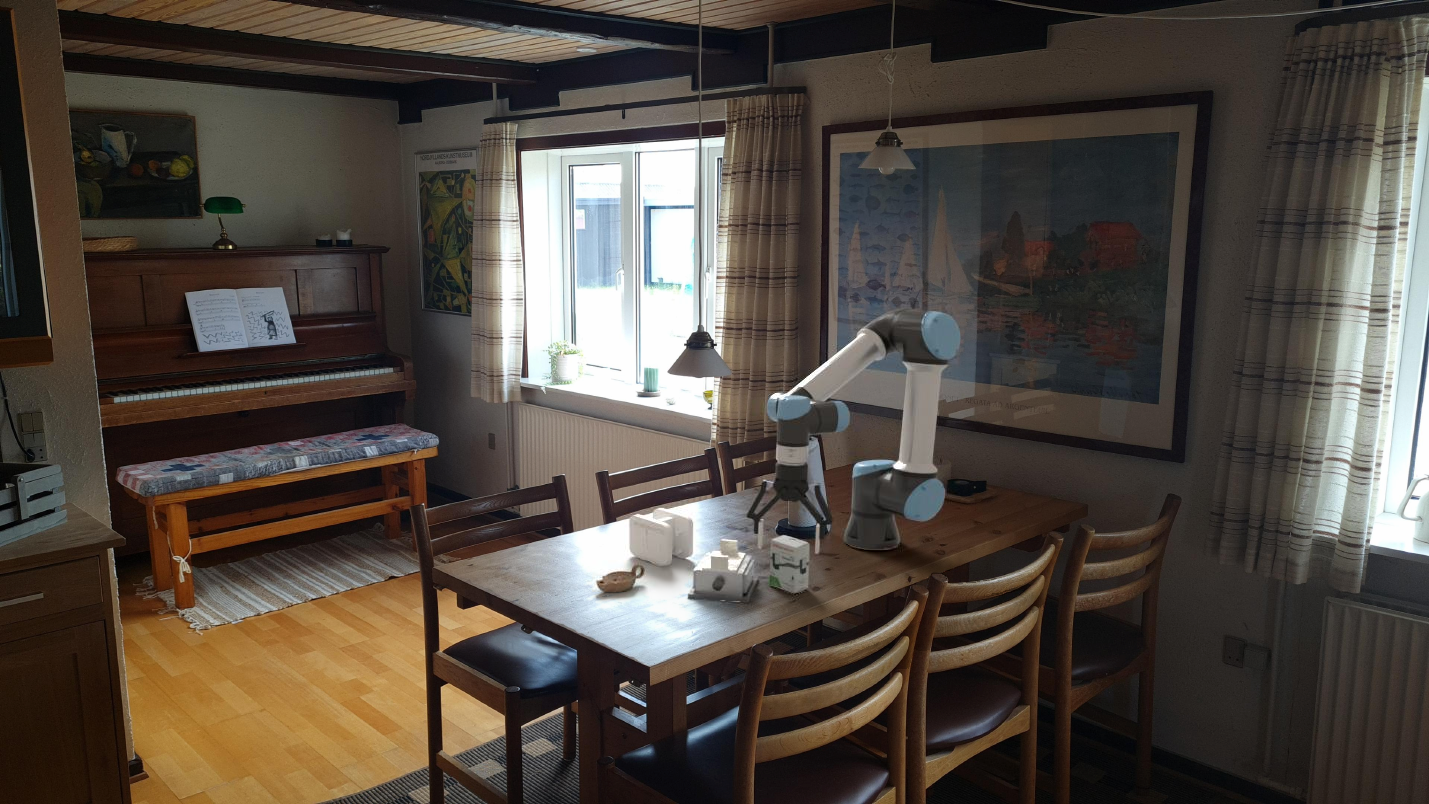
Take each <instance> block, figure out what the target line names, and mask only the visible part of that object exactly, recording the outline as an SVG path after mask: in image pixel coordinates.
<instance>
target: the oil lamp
mask: <svg viewBox="0 0 1429 804" xmlns="http://www.w3.org/2000/svg"><path fill="white" fill-rule="evenodd" d="M639 568H640V571H639V573H638V574H637V570H638V569H639ZM645 574H646V568H645V567H644V565H643V564H641V563H635V564H634V565H633V566H632V568H631V570H630V571H625V570H621V571H620V570H618V571H617V570H616V571H613V572H610V573H609V572H608V573H607V574H606V575H602V577H601V578H602V579H600V580H599V579H598V580H596V581H595V582H596V586H597V588H598V589H599V590H600V591H601V592H604V593H619V592H626V591H628V590H631V589H632V588H633V587H634V586H635V583H636V579H638V580H639V579H641V578H642V577H644V575H645Z"/></svg>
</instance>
